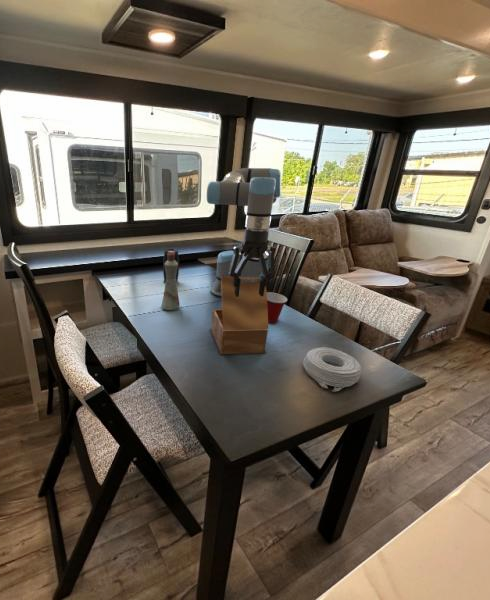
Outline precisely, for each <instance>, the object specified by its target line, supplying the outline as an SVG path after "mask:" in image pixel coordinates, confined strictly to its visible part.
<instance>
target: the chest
mask: <svg viewBox="0 0 490 600" xmlns="http://www.w3.org/2000/svg"><path fill="white" fill-rule="evenodd" d="M210 332H211V333H212V336H213V338H214V341H215V344H216V346H217V348H218V351H219V353H220V355H243V354H245V355H246V354H265V351H266V346H267V340H268V333H269V329H247V330H223V315H222V308H217V309H215V308H213V309H212V315H211V329H210Z"/></svg>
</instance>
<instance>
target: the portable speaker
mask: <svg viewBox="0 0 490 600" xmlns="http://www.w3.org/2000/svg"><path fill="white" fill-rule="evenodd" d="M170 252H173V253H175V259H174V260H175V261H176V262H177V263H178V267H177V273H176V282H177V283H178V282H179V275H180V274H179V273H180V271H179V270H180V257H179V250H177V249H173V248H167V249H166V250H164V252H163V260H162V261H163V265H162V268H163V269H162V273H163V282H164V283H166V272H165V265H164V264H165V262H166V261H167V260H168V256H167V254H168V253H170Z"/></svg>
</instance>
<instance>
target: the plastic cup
mask: <svg viewBox="0 0 490 600" xmlns="http://www.w3.org/2000/svg"><path fill="white" fill-rule="evenodd" d="M287 302H288V298H287V296H285V295H283V294H280V293H277V292H272V291H271V292H270V291H269V292H268V291H267V309H268V324H276V323H278V320H279V317H280V315H281V313H282V310H283V307H284V306H285V304H286V303H287Z"/></svg>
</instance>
